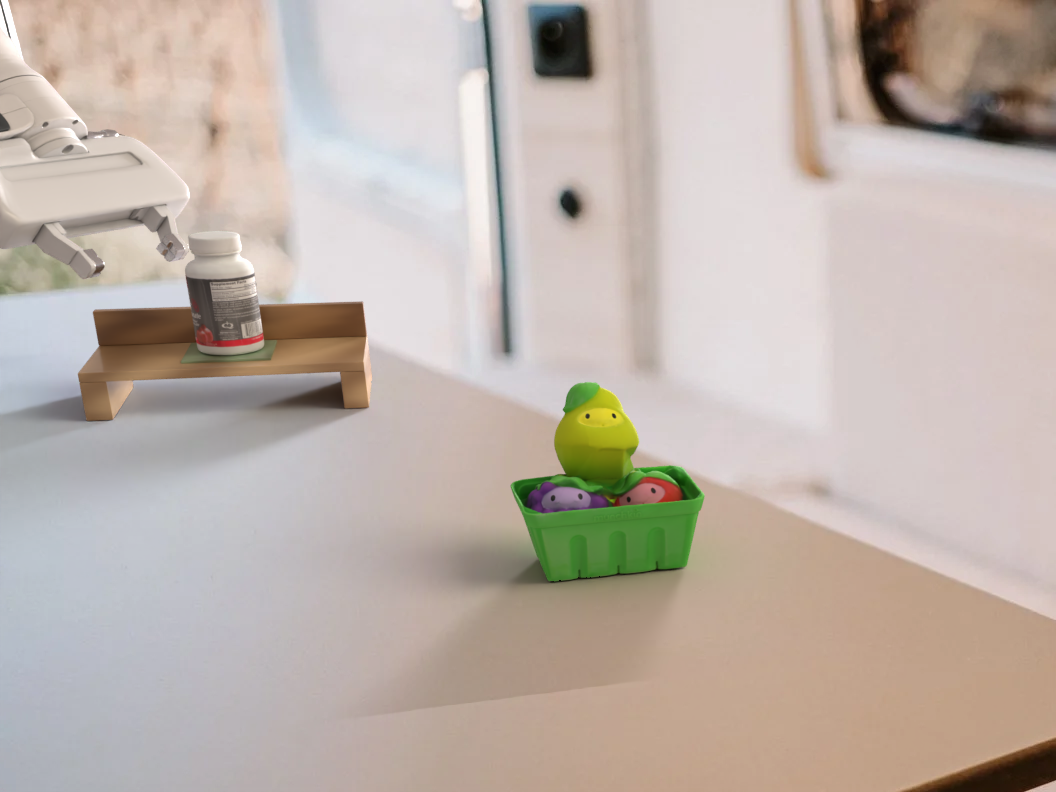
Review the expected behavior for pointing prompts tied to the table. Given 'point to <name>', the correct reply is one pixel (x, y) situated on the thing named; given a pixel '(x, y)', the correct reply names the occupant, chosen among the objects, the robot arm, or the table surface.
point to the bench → (171, 353)
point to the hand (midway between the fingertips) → (139, 264)
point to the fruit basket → (606, 498)
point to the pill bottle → (223, 295)
